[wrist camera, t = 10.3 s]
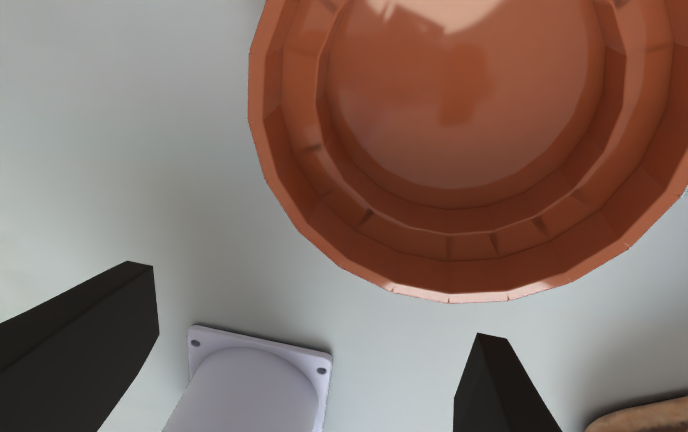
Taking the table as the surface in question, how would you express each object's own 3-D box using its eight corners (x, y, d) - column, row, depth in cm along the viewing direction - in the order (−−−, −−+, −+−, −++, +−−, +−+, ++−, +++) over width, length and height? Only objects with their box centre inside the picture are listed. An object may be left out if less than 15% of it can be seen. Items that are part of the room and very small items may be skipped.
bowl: (572, 263, 20) (606, 336, 16) (278, 207, 21) (244, 263, 17) (734, -100, 14) (854, -123, 10) (300, -153, 15) (253, -193, 11)
